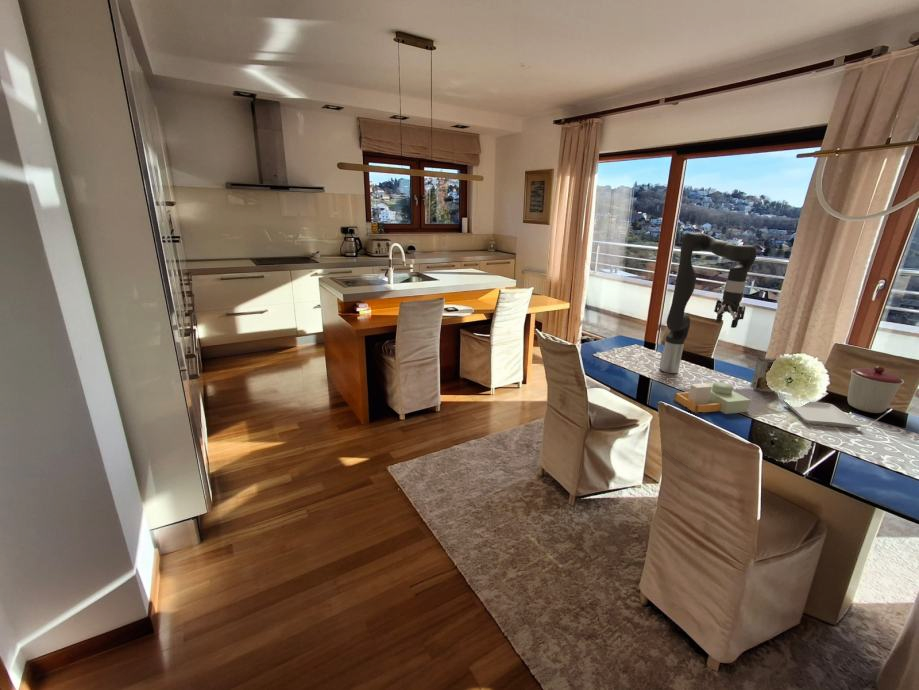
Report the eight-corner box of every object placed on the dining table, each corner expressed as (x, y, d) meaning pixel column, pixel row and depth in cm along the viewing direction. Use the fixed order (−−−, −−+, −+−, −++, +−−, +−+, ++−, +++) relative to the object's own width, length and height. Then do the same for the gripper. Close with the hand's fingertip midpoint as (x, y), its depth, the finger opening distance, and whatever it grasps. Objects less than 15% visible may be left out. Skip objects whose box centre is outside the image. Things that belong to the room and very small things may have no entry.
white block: (686, 403, 201) (690, 384, 197) (701, 402, 202) (705, 383, 199) (692, 407, 197) (697, 387, 194) (707, 406, 199) (712, 386, 195)
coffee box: (770, 387, 221) (778, 358, 216) (775, 392, 215) (783, 362, 210) (750, 385, 223) (757, 356, 218) (754, 390, 217) (762, 360, 212)
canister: (886, 406, 203) (902, 365, 197) (895, 421, 189) (913, 377, 182) (837, 396, 213) (851, 356, 206) (842, 409, 199) (857, 367, 192)
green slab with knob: (669, 397, 207) (673, 379, 204) (713, 393, 213) (717, 376, 210) (700, 416, 189) (704, 397, 186) (747, 411, 194) (752, 393, 191)
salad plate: (860, 432, 180) (863, 425, 179) (804, 426, 183) (806, 419, 182) (829, 409, 199) (831, 402, 198) (779, 404, 203) (780, 398, 202)
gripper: (714, 287, 199) (707, 321, 204) (740, 293, 186) (731, 329, 191) (728, 287, 201) (720, 320, 206) (754, 293, 188) (745, 329, 193)
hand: (725, 324), depth 198 cm, fingers open, 8 cm apart
